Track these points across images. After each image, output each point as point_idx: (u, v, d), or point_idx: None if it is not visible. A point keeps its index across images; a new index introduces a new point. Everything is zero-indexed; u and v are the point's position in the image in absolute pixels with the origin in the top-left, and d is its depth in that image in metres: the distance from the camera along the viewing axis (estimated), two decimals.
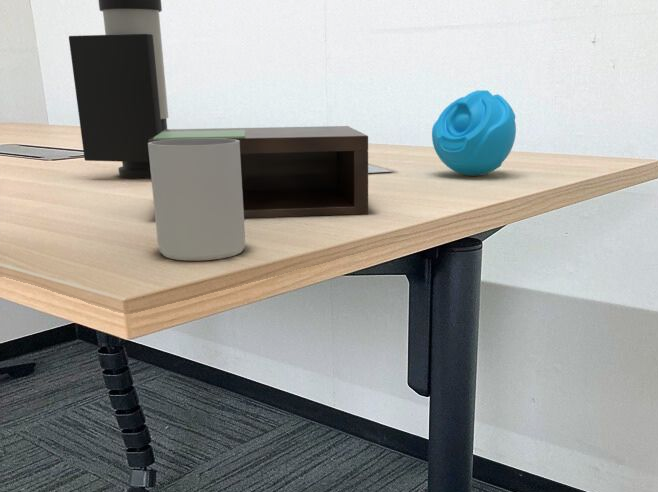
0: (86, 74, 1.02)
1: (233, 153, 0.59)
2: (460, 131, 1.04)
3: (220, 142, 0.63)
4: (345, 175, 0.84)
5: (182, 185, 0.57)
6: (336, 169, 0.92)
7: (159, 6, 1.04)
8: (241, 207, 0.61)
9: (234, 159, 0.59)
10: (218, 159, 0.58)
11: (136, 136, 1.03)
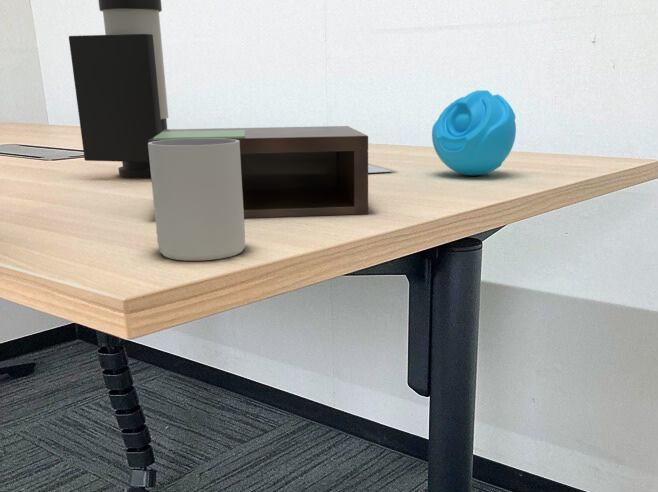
0: (86, 74, 1.02)
1: (233, 153, 0.59)
2: (460, 131, 1.04)
3: (220, 142, 0.63)
4: (345, 175, 0.84)
5: (182, 185, 0.57)
6: (336, 169, 0.92)
7: (159, 6, 1.04)
8: (241, 207, 0.61)
9: (234, 159, 0.59)
10: (218, 159, 0.58)
11: (136, 136, 1.03)
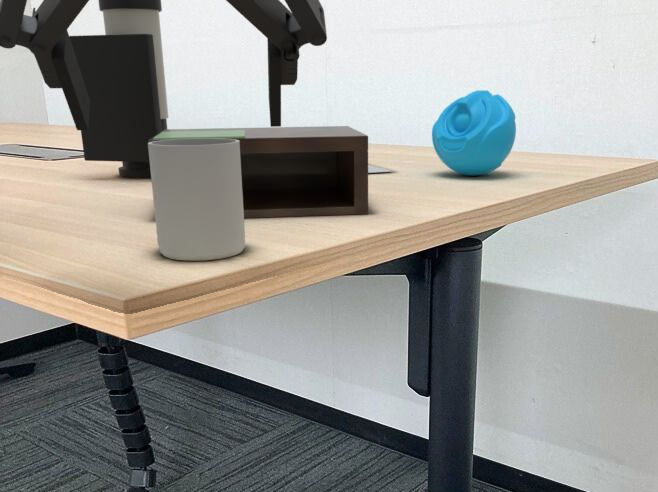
0: (86, 74, 1.02)
1: (233, 153, 0.59)
2: (460, 131, 1.04)
3: (220, 142, 0.63)
4: (345, 175, 0.84)
5: (182, 185, 0.57)
6: (336, 169, 0.92)
7: (159, 6, 1.04)
8: (241, 207, 0.61)
9: (234, 159, 0.59)
10: (218, 159, 0.58)
11: (136, 136, 1.03)
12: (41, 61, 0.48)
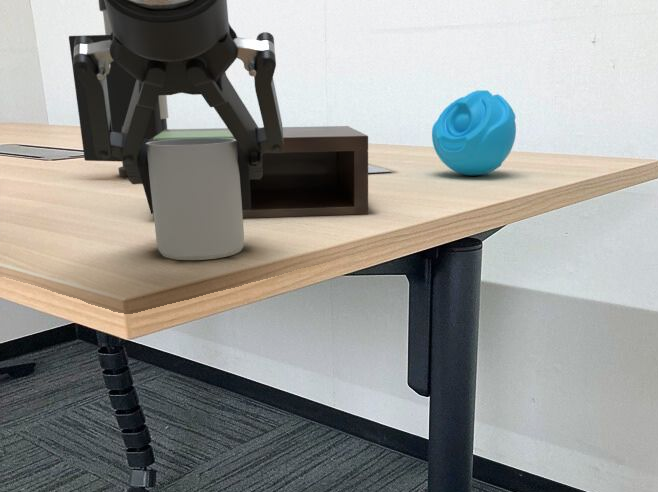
0: None
1: (231, 152, 0.59)
2: (460, 131, 1.04)
3: (218, 141, 0.63)
4: (345, 175, 0.84)
5: (180, 185, 0.57)
6: (336, 169, 0.92)
7: None
8: (240, 206, 0.61)
9: (232, 158, 0.59)
10: (216, 158, 0.58)
11: None
12: (128, 166, 0.60)
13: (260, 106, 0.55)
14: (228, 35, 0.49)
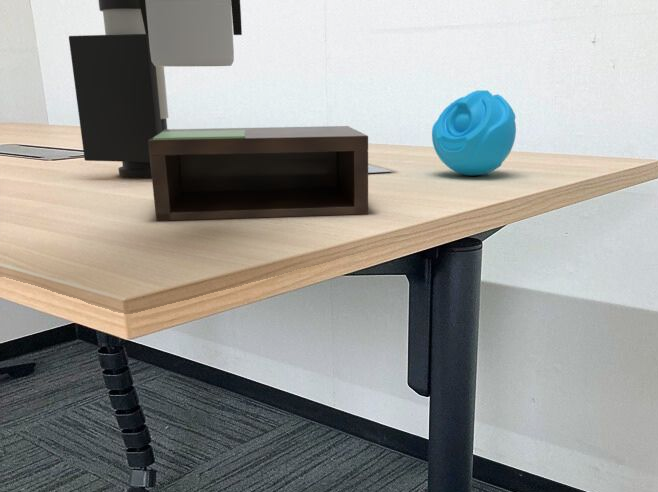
0: (86, 74, 1.02)
1: None
2: (460, 131, 1.04)
3: None
4: (345, 175, 0.84)
5: None
6: (336, 169, 0.92)
7: None
8: (229, 18, 0.64)
9: None
10: None
11: (136, 136, 1.03)
12: None
13: None
14: None
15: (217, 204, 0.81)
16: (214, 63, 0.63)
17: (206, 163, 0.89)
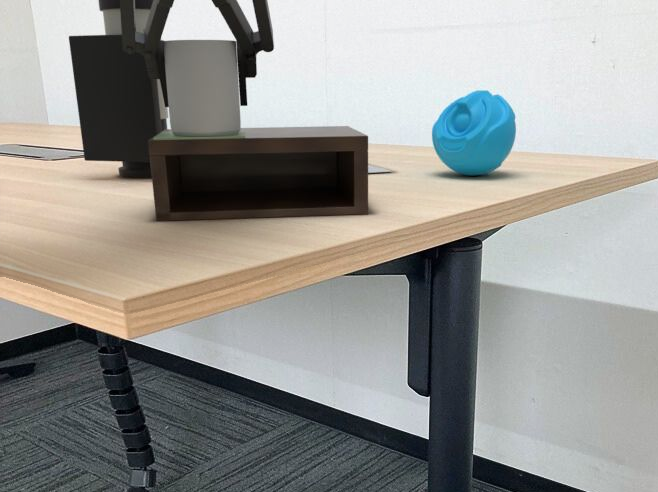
0: (86, 74, 1.02)
1: (231, 49, 0.74)
2: (460, 131, 1.04)
3: None
4: (345, 175, 0.84)
5: (190, 72, 0.72)
6: (336, 169, 0.92)
7: None
8: (237, 95, 0.76)
9: (232, 54, 0.74)
10: (219, 52, 0.72)
11: (136, 136, 1.03)
12: (148, 61, 0.75)
13: (255, 8, 0.70)
14: None
15: (217, 204, 0.81)
16: (225, 134, 0.75)
17: (206, 163, 0.89)
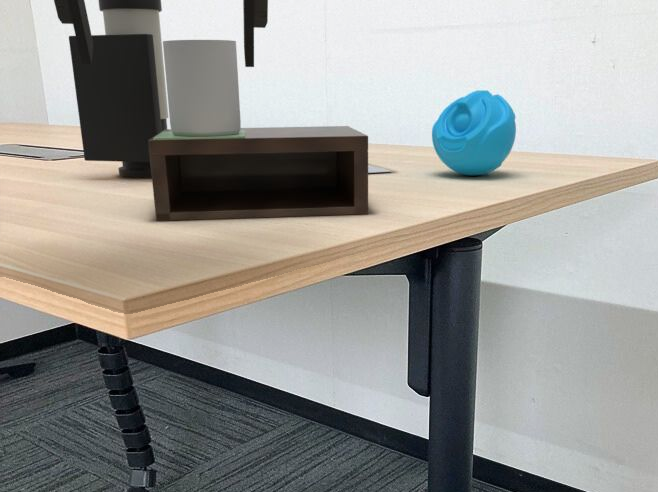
0: (86, 74, 1.02)
1: (231, 49, 0.74)
2: (460, 131, 1.04)
3: None
4: (345, 175, 0.84)
5: (190, 72, 0.72)
6: (336, 169, 0.92)
7: (159, 6, 1.04)
8: (237, 95, 0.76)
9: (232, 54, 0.74)
10: (219, 52, 0.72)
11: (136, 136, 1.03)
12: None
13: None
14: None
15: (217, 204, 0.81)
16: (225, 134, 0.75)
17: (206, 163, 0.89)
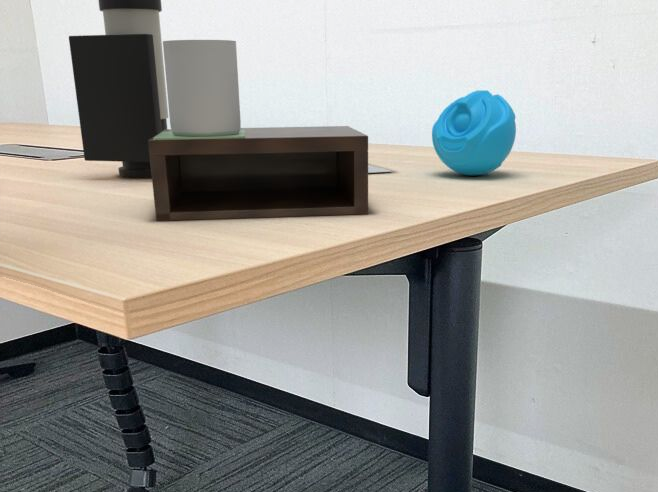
0: (86, 74, 1.02)
1: (231, 49, 0.74)
2: (460, 131, 1.04)
3: None
4: (345, 175, 0.84)
5: (190, 72, 0.72)
6: (336, 169, 0.92)
7: (159, 6, 1.04)
8: (237, 95, 0.76)
9: (232, 54, 0.74)
10: (219, 52, 0.72)
11: (136, 136, 1.03)
12: None
13: None
14: None
15: (217, 204, 0.81)
16: (225, 134, 0.75)
17: (206, 163, 0.89)
